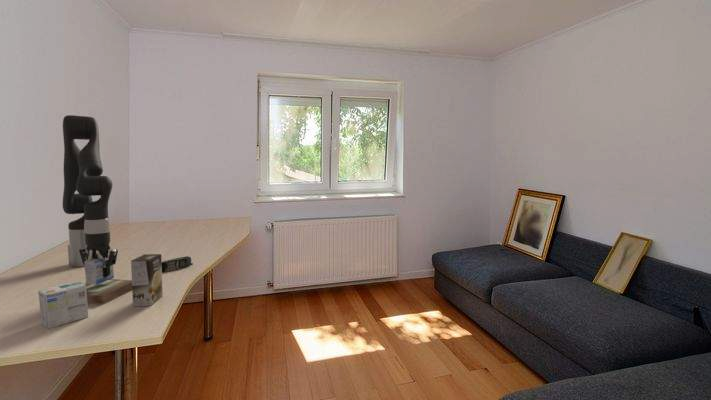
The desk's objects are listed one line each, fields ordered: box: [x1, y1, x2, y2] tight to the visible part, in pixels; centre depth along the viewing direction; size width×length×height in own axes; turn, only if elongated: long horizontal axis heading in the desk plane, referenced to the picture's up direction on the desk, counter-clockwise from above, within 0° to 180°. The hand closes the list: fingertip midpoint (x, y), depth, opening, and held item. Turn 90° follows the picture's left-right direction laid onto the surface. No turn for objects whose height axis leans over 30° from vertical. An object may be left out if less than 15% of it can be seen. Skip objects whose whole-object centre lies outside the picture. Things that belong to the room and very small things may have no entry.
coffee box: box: [130, 253, 164, 307], centre depth 130 cm, size 9×6×16 cm
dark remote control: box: [162, 255, 194, 273], centre depth 168 cm, size 5×3×15 cm
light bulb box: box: [37, 280, 89, 330], centre depth 114 cm, size 11×7×11 cm, turn 145°
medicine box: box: [84, 257, 115, 285], centre depth 135 cm, size 8×4×9 cm, turn 169°
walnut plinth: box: [84, 278, 132, 305], centre depth 136 cm, size 16×16×3 cm
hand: (100, 276), depth 135 cm, fingers closed on medicine box, 4 cm apart
